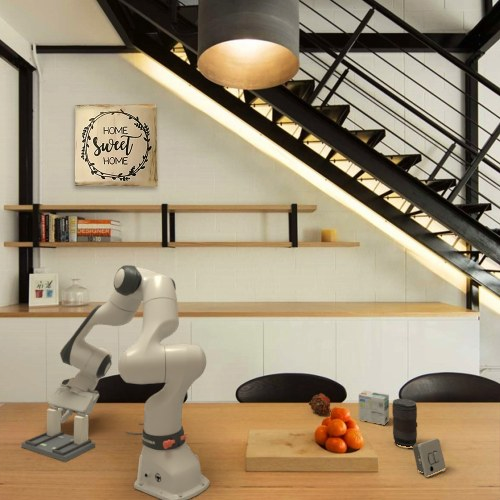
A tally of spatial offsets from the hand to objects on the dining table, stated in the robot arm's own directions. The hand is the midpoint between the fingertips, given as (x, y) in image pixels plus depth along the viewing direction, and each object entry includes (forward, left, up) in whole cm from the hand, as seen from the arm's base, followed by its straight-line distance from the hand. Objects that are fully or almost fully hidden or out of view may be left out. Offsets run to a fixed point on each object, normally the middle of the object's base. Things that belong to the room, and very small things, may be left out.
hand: (59, 421), depth 154 cm
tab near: (-14, -1, -4) cm, 15 cm away
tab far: (-1, +2, -4) cm, 4 cm away
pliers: (-20, -27, -6) cm, 35 cm away
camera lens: (-94, -80, -6) cm, 124 cm away
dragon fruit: (-55, -86, -6) cm, 103 cm away
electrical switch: (-107, -67, -6) cm, 127 cm away
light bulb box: (-76, -93, -6) cm, 121 cm away
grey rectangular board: (-8, +4, -5) cm, 11 cm away
